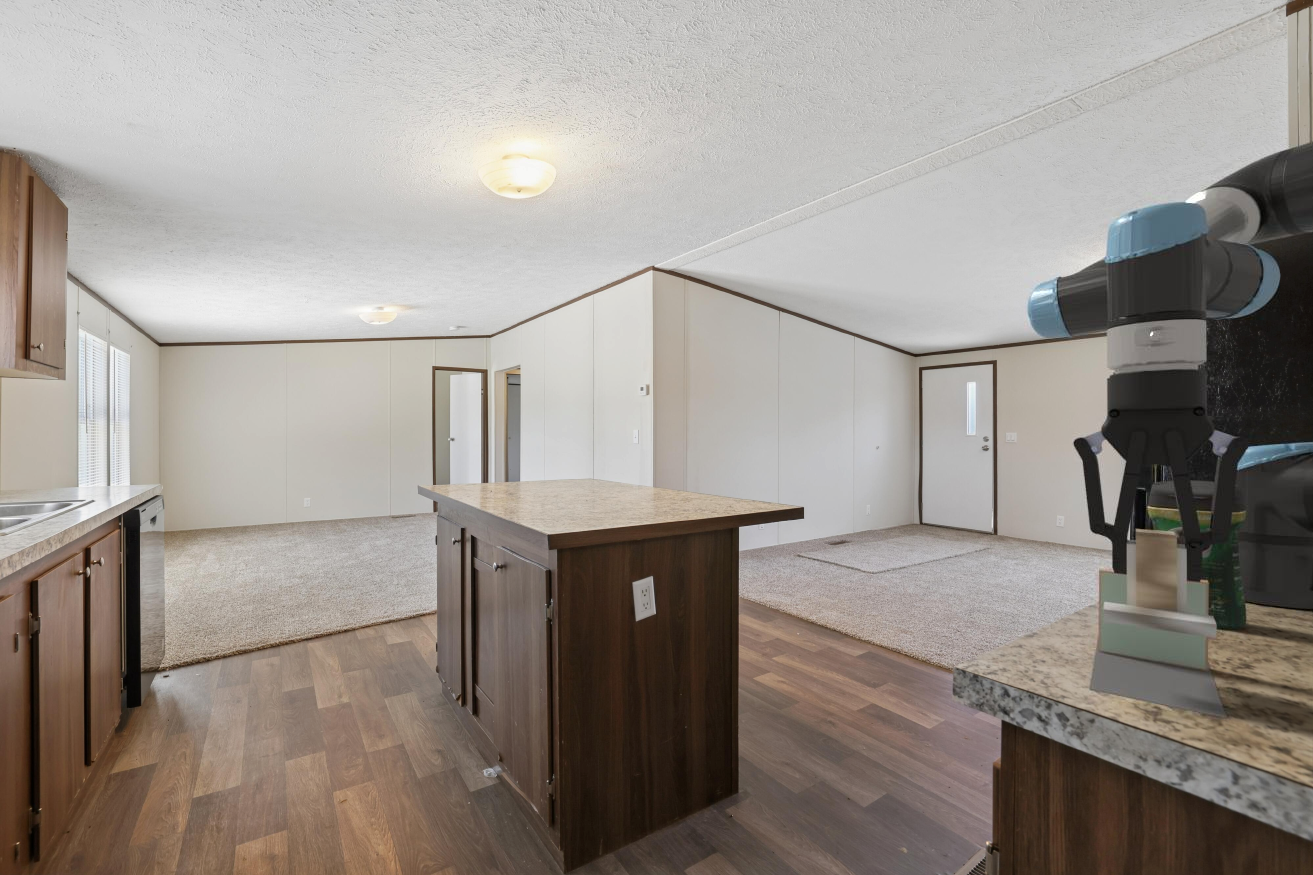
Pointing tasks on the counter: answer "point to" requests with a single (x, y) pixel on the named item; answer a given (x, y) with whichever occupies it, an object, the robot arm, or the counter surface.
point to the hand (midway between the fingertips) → (1155, 609)
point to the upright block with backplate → (1158, 590)
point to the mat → (1156, 683)
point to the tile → (1152, 641)
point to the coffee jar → (1208, 548)
